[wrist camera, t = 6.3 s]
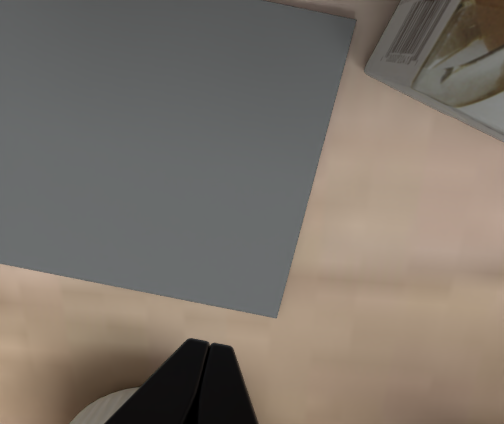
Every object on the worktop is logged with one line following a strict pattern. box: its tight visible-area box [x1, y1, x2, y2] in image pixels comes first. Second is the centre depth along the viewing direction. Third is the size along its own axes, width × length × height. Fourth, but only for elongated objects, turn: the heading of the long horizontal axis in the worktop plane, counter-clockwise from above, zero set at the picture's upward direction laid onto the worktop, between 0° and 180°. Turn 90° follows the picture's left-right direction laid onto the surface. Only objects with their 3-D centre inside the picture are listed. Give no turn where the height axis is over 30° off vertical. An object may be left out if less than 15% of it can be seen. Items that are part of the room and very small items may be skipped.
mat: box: [0, 0, 356, 318], centre depth 17 cm, size 18×14×1 cm
